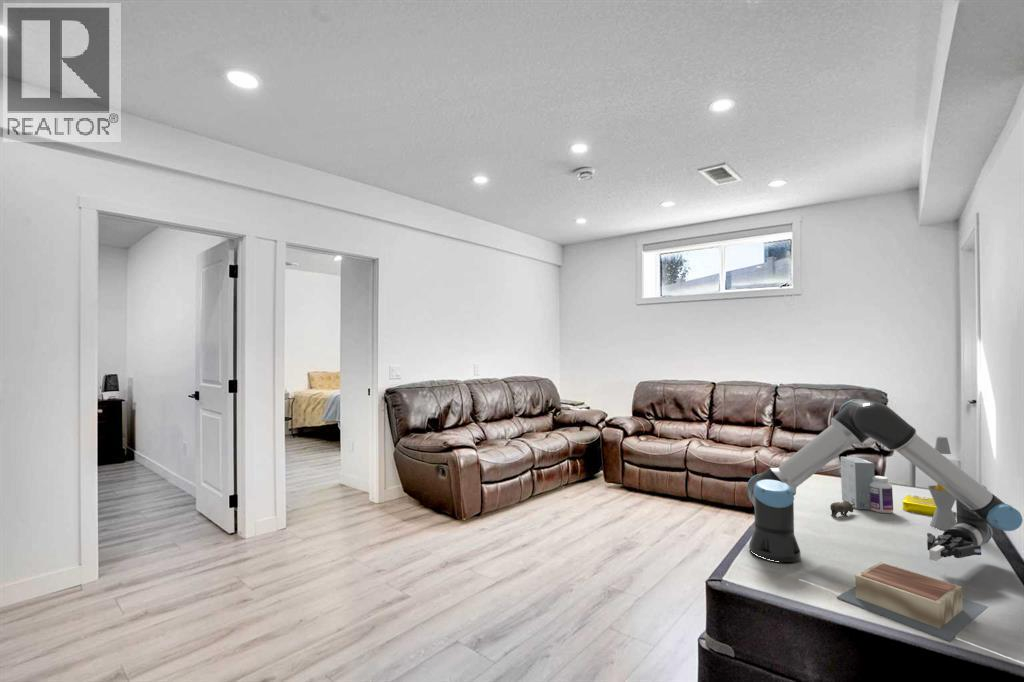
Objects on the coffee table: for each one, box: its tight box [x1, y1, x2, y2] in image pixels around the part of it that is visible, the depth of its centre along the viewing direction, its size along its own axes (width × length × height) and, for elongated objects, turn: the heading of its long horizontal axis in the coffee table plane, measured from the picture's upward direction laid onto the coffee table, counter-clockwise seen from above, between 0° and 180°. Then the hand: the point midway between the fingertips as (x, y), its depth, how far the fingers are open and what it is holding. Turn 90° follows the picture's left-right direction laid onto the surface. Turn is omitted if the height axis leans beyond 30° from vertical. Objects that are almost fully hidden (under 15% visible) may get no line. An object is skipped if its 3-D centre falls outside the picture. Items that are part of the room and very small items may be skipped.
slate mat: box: [836, 586, 989, 642], centre depth 131 cm, size 28×24×1 cm
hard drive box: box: [840, 456, 876, 510], centre depth 217 cm, size 16×8×20 cm, turn 166°
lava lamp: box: [927, 436, 957, 531], centre depth 188 cm, size 9×9×35 cm
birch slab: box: [854, 561, 963, 629], centre depth 130 cm, size 6×18×16 cm
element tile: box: [902, 494, 937, 517], centre depth 209 cm, size 15×15×5 cm
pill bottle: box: [870, 475, 894, 514], centre depth 208 cm, size 8×8×14 cm
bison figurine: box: [830, 500, 856, 519], centre depth 202 cm, size 4×14×6 cm, turn 110°
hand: (932, 555), depth 140 cm, fingers closed
